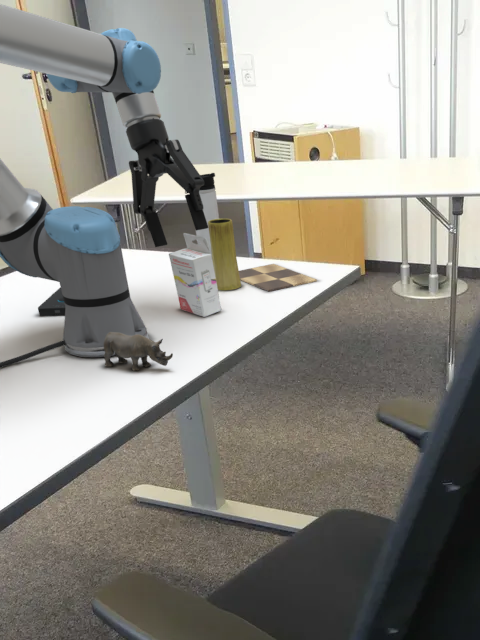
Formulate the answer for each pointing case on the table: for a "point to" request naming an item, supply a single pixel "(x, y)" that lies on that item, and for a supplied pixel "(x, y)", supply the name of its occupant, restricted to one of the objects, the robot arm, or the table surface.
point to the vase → (224, 254)
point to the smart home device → (53, 305)
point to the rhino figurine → (133, 349)
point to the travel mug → (208, 204)
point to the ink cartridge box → (195, 277)
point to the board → (273, 277)
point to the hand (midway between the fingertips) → (181, 238)
